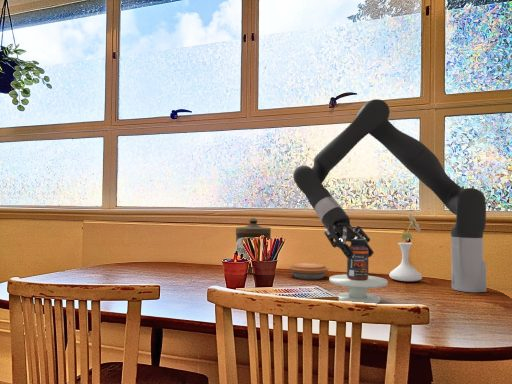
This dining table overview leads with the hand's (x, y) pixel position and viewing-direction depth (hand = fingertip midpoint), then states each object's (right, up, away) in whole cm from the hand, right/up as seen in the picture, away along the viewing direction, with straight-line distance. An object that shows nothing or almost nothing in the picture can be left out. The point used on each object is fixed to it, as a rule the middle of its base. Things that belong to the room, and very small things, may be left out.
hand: (361, 256), depth 110 cm
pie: (-10, -15, +39) cm, 43 cm away
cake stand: (-1, -13, 0) cm, 13 cm away
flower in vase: (+26, -15, +34) cm, 45 cm away
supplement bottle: (-1, -7, +1) cm, 7 cm away
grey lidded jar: (-31, -15, +51) cm, 62 cm away
